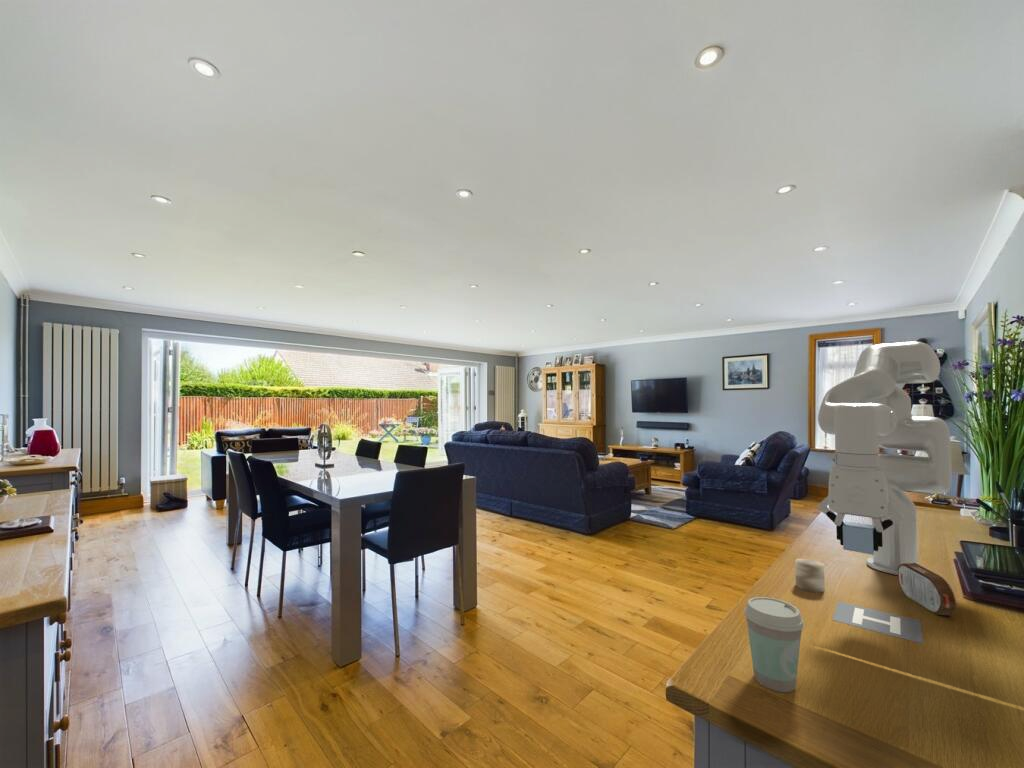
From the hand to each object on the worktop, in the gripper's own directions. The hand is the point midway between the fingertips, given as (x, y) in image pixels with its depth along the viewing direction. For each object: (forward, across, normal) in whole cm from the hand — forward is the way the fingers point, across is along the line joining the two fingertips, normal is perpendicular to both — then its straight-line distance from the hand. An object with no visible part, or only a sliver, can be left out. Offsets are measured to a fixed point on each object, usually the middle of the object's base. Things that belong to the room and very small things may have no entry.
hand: (859, 545), depth 96 cm
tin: (+16, +10, +17) cm, 25 cm away
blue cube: (+1, 0, 0) cm, 1 cm away
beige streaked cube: (+15, -11, +11) cm, 22 cm away
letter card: (+15, +2, 0) cm, 15 cm away
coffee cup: (+15, -9, -37) cm, 41 cm away
